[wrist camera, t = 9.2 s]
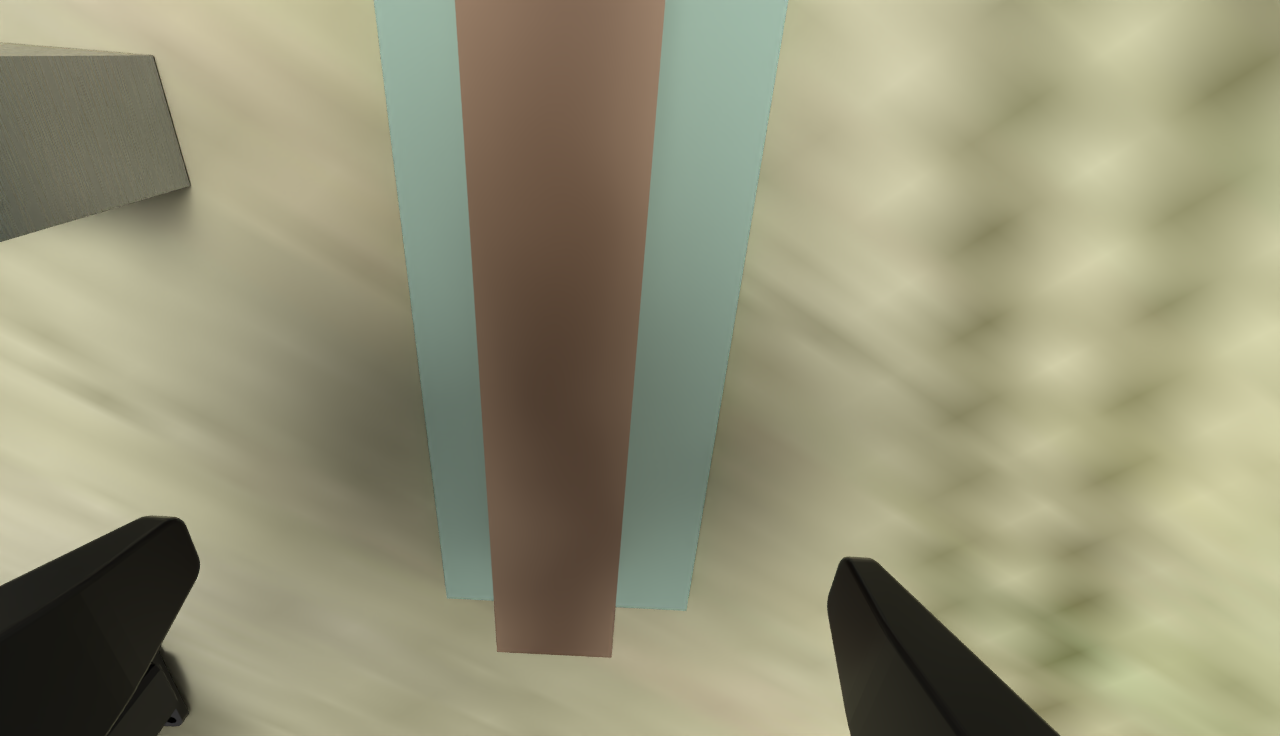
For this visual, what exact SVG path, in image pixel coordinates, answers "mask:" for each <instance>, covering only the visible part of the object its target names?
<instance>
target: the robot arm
mask: <svg viewBox="0 0 1280 736" xmlns="http://www.w3.org/2000/svg"><path fill="white" fill-rule="evenodd" d="M199 569H200V560H199V556H198V554H197V551H196V549H195V546H194V544H193V542H192V539H191V537H190V534H189V532H188V529H187V527H186V525H185V523H184V522H183V521H182V520H181V519H180V518H177V517H167V516H145V517H141V518H139V519H137V520H135V521H132V522H130V523H128V524H126V525H124V526H122V527H120V528H118V529H116V530H114V531H112V532H110V533H108V534H106V535H104V536H102V537H100V538H98V539H96V540H93V541H91V542H89V543H87V544H85V545H83V546H81V547H79V548H77V549H75V550H73V551H71V552H69V553H67V554H65V555H63V556H61V557H59V558H57V559H55V560H52V561H50V562H48V563H46V564H44V565H42V566H40V567H38V568H36V569H34V570H32V571H30V572H28V573H26V574H24V575H22V576H20V577H18V578H16V579H13V580H11V581H9V582H7V583H5V584H3V585H1V586H0V736H157V735H158V733H159V732H160V730H161V729H162V728H163V726H179V725H181V724H182V723H183V721H184V720H185V718H186V717H187V716H188V714H189V712H188V709H187V707H186V705H185V703H184V701H183V699H182V697H181V695H180V693H179V691H178V689H177V687H176V685H175V683H174V681H173V679H172V677H171V675H170V673H169V671H168V669H167V667H166V665H165V663H164V661H163V659H162V657H161V655H160V653H159V651H158V649H159V647H160V646H161V644H162V642H163V640H164V638H165V636H166V635H167V633H168V631H169V629H170V627H171V625H172V623H173V622H174V620H175V618H176V616H177V614H178V612H179V611H180V609H181V607H182V605H183V603H184V601H185V599H186V598H187V596H188V594H189V592H190V590H191V588H192V587H193V585H194V583H195V581H196V579H197V576H198V573H199ZM827 610H828V618H829V623H830V629H831V634H832V640H833V645H834V651H835V657H836V662H837V668H838V673H839V679H840V685H841V690H842V696H843V701H844V707H845V712H846V717H847V722H848V726H849V730H850V734H851V736H1060V735H1059V734H1058V733H1057V732H1056V731H1055V730H1054V729H1053V728H1052V727H1051V726H1050V725H1049V724H1048V723H1047V722H1046V721H1045V720H1043V719H1042V718H1041V717H1040V716H1039V715H1038V714H1037V713H1036V712H1035V711H1034V710H1033V709H1032V708H1031V707H1030V706H1029V705H1028V704H1027V703H1026V702H1024V701H1023V700H1022V699H1021V698H1020V697H1019V696H1018V695H1017V694H1016V693H1015V692H1014V691H1013V690H1012V689H1011V688H1010V687H1009V686H1008V685H1007V684H1005V683H1004V682H1003V681H1002V680H1001V679H1000V678H999V677H998V676H997V675H996V674H995V673H994V672H993V671H992V670H991V669H990V668H989V667H988V666H986V665H985V664H984V663H983V662H982V661H981V660H980V659H979V658H978V657H977V656H976V655H975V654H974V653H973V652H972V651H971V650H970V649H968V648H967V647H966V646H965V645H964V644H963V643H962V642H961V641H960V640H959V639H958V638H957V637H956V636H955V635H954V634H953V633H952V632H951V631H949V630H948V629H947V628H946V627H945V626H944V625H943V624H942V623H941V622H940V621H939V620H938V619H937V618H936V617H935V616H934V615H933V614H932V613H930V612H929V611H928V610H927V609H926V608H925V607H924V606H923V605H922V604H921V603H920V602H919V601H918V600H917V599H916V598H915V597H914V596H913V595H911V594H910V593H909V592H908V591H907V590H906V589H905V588H904V587H903V586H902V585H901V584H900V583H899V582H898V581H897V580H896V579H895V578H894V577H892V576H891V575H890V574H889V573H888V572H887V571H886V570H885V569H884V568H883V567H882V566H881V565H880V564H879V563H878V562H876V561H875V560H873V559H871V558H861V557H844V558H843V559H842V560H841V561H840V563H839V565H838V568H837V571H836V574H835V577H834V580H833V583H832V586H831V589H830V592H829V595H828V601H827Z"/></svg>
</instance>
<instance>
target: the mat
mask: <svg viewBox="0 0 1280 736" xmlns="http://www.w3.org/2000/svg"><path fill="white" fill-rule="evenodd" d="M374 5H375V14H376V22H377V30H378V38H379V46H380V55H381V63H382V71H383V79H384V87H385V95H386V104H387V112H388V120H389V128H390V136H391V144H392V153H393V161H394V169H395V177H396V185H397V194H398V202H399V210H400V218H401V226H402V234H403V243H404V251H405V259H406V267H407V275H408V284H409V292H410V300H411V308H412V316H413V324H414V333H415V341H416V349H417V357H418V365H419V373H420V382H421V390H422V398H423V406H424V414H425V423H426V431H427V439H428V447H429V455H430V463H431V472H432V480H433V488H434V496H435V504H436V513H437V521H438V529H439V537H440V545H441V553H442V562H443V570H444V578H445V586H446V594H447V598H453V599H472V600H491V601H494V597H493V581H492V566H491V550H490V535H489V520H488V504H487V489H486V473H485V458H484V443H483V427H482V412H481V396H480V381H479V365H478V350H477V335H476V319H475V304H474V288H473V273H472V258H471V242H470V227H469V211H468V196H467V181H466V165H465V150H464V134H463V119H462V103H461V88H460V73H459V57H458V42H457V26H456V11H455V0H374ZM787 5H788V0H665V11H664V23H663V35H662V48H661V60H660V72H659V84H658V96H657V108H656V121H655V133H654V145H653V157H652V169H651V181H650V194H649V206H648V218H647V230H646V242H645V254H644V267H643V279H642V291H641V303H640V315H639V328H638V340H637V352H636V364H635V376H634V388H633V401H632V413H631V425H630V437H629V449H628V461H627V474H626V486H625V498H624V510H623V522H622V534H621V547H620V559H619V571H618V583H617V595H616V607H624V608H643V609H662V610H681V611H686V609H687V603H688V598H689V592H690V586H691V580H692V574H693V568H694V562H695V556H696V550H697V544H698V538H699V532H700V526H701V520H702V514H703V508H704V502H705V496H706V490H707V484H708V478H709V472H710V466H711V460H712V454H713V448H714V442H715V436H716V430H717V424H718V418H719V412H720V406H721V400H722V394H723V388H724V382H725V376H726V370H727V364H728V358H729V352H730V346H731V340H732V334H733V328H734V322H735V316H736V310H737V304H738V298H739V292H740V286H741V280H742V274H743V268H744V262H745V256H746V251H747V245H748V239H749V233H750V227H751V221H752V215H753V209H754V203H755V197H756V191H757V185H758V179H759V173H760V167H761V161H762V155H763V149H764V143H765V137H766V131H767V125H768V119H769V113H770V107H771V101H772V95H773V89H774V83H775V77H776V71H777V65H778V59H779V53H780V47H781V41H782V35H783V29H784V23H785V17H786V11H787Z"/></svg>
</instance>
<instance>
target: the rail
mask: <svg viewBox="0 0 1280 736" xmlns="http://www.w3.org/2000/svg"><path fill="white" fill-rule="evenodd" d="M455 11H456V26H457V42H458V57H459V73H460V88H461V103H462V119H463V134H464V150H465V165H466V181H467V196H468V211H469V227H470V242H471V258H472V273H473V288H474V304H475V319H476V335H477V350H478V365H479V381H480V396H481V412H482V427H483V443H484V458H485V473H486V489H487V504H488V520H489V535H490V550H491V566H492V581H493V597H494V612H495V627H496V643H497V652H510V653H530V654H550V655H570V656H590V657H610V658H611V656H612V644H613V632H614V620H615V607H616V595H617V583H618V571H619V559H620V547H621V534H622V522H623V510H624V498H625V486H626V474H627V461H628V449H629V437H630V425H631V413H632V401H633V388H634V376H635V364H636V352H637V340H638V328H639V315H640V303H641V291H642V279H643V267H644V254H645V242H646V230H647V218H648V206H649V194H650V181H651V169H652V157H653V145H654V133H655V121H656V108H657V96H658V84H659V72H660V60H661V48H662V35H663V23H664V11H665V0H455Z"/></svg>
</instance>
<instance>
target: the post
mask: <svg viewBox="0 0 1280 736" xmlns="http://www.w3.org/2000/svg"><path fill="white" fill-rule="evenodd" d="M188 186H190V183H189V180H188V176H187V173H186V169H185V166H184V162H183V159H182V155H181V152H180V149H179V145H178V142H177V138H176V135H175V131H174V128H173V124H172V121H171V117H170V114H169V110H168V107H167V103H166V100H165V96H164V93H163V89H162V86H161V83H160V79H159V76H158V72H157V69H156V65H155V62H154V58H153V55H143V54H131V53H119V52H107V51H95V50H83V49H71V48H59V47H47V46H35V45H23V44H11V43H0V242H2V241H5V240H9V239H12V238H16V237H19V236H22V235H26V234H29V233H32V232H36V231H39V230H43V229H46V228H49V227H53V226H56V225H59V224H63V223H66V222H70V221H73V220H76V219H80V218H83V217H86V216H90V215H93V214H97V213H100V212H103V211H107V210H110V209H113V208H117V207H120V206H124V205H127V204H130V203H134V202H137V201H140V200H144V199H147V198H151V197H154V196H157V195H161V194H164V193H167V192H171V191H174V190H178V189H181V188H184V187H188Z"/></svg>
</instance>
